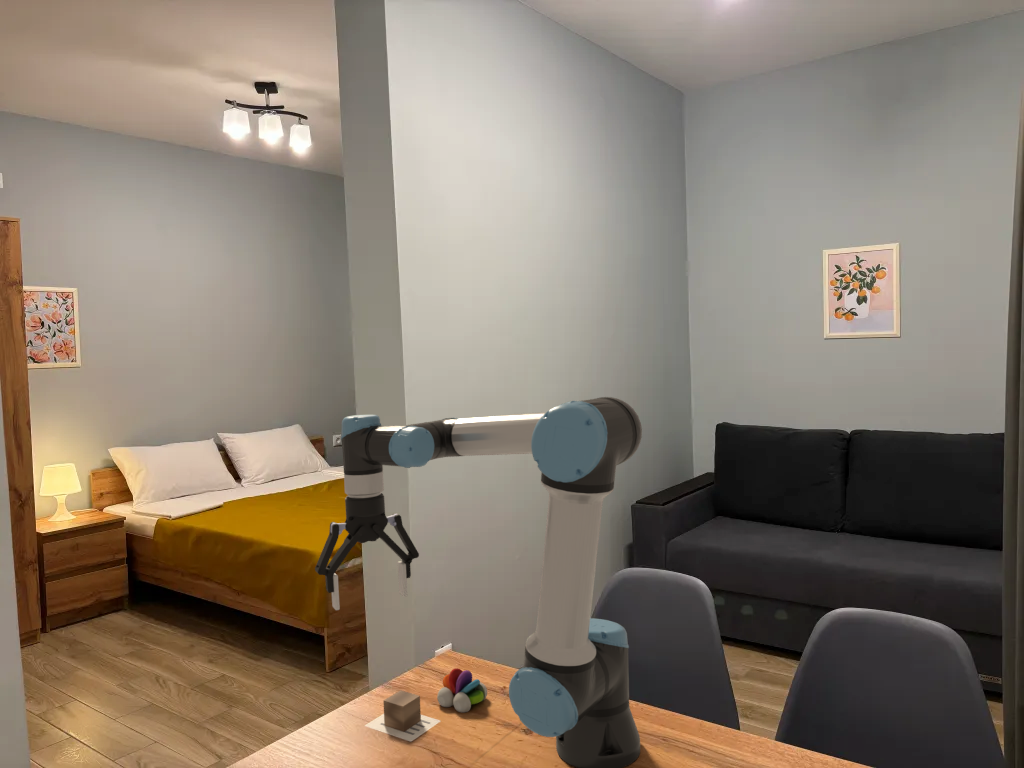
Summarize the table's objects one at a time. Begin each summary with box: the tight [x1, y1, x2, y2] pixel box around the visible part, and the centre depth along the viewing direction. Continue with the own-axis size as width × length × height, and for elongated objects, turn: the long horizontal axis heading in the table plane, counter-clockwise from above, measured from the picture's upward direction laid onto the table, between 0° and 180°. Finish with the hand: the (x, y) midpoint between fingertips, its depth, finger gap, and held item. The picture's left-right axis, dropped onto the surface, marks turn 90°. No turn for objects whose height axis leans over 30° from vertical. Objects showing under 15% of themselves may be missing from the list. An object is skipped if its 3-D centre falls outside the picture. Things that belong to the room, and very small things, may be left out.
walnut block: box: [383, 690, 422, 732], centre depth 147 cm, size 5×5×5 cm
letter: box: [364, 713, 441, 742], centre depth 148 cm, size 12×9×1 cm
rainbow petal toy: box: [436, 667, 488, 713], centre depth 155 cm, size 8×10×7 cm
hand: (370, 601), depth 148 cm, fingers open, 13 cm apart
